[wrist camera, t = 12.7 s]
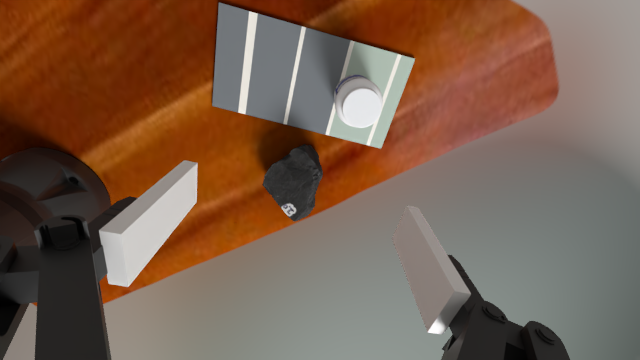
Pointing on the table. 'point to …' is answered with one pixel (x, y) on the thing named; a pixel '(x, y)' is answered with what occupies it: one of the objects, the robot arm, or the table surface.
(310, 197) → the rock
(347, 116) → the pill bottle
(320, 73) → the lane
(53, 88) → the table surface
